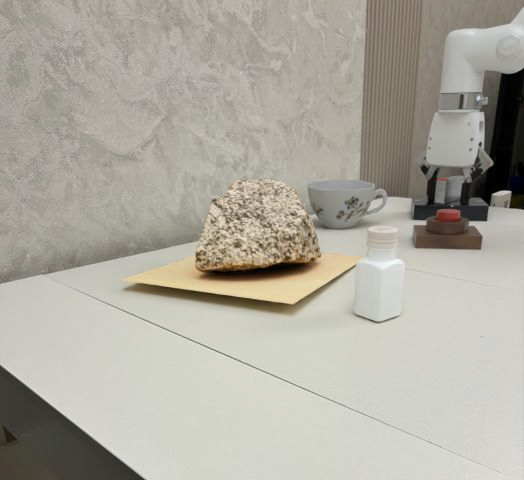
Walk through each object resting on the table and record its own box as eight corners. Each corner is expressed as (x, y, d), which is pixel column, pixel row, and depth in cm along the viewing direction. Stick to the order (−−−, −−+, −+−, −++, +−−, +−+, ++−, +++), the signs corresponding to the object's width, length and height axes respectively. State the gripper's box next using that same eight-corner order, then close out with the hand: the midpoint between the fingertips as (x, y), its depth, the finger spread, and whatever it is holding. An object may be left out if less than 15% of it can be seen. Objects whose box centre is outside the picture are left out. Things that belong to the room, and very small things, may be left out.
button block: (472, 238, 93) (476, 215, 92) (480, 250, 86) (484, 224, 84) (412, 237, 95) (414, 214, 93) (415, 248, 88) (417, 223, 86)
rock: (226, 242, 93) (270, 154, 85) (326, 318, 90) (383, 234, 81) (116, 277, 70) (161, 161, 61) (244, 381, 66) (312, 274, 58)
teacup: (307, 233, 100) (307, 188, 97) (305, 220, 111) (306, 179, 108) (390, 232, 99) (393, 186, 96) (380, 219, 111) (383, 178, 107)
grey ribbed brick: (452, 197, 115) (455, 174, 113) (462, 198, 114) (465, 174, 112) (434, 203, 109) (436, 178, 107) (443, 204, 108) (446, 179, 106)
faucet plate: (477, 211, 117) (479, 195, 116) (488, 223, 105) (490, 206, 104) (409, 210, 120) (411, 195, 118) (413, 221, 108) (414, 205, 107)
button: (457, 219, 90) (458, 209, 90) (460, 224, 87) (461, 212, 87) (434, 219, 91) (436, 208, 90) (437, 223, 88) (438, 212, 87)
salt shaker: (351, 314, 61) (355, 228, 57) (375, 306, 63) (381, 223, 59) (378, 324, 58) (385, 234, 54) (403, 316, 60) (411, 229, 56)
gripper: (512, 103, 101) (497, 202, 109) (425, 104, 112) (417, 195, 119) (498, 103, 96) (483, 207, 103) (408, 105, 107) (400, 199, 114)
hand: (448, 200), depth 111 cm, fingers open, 6 cm apart
